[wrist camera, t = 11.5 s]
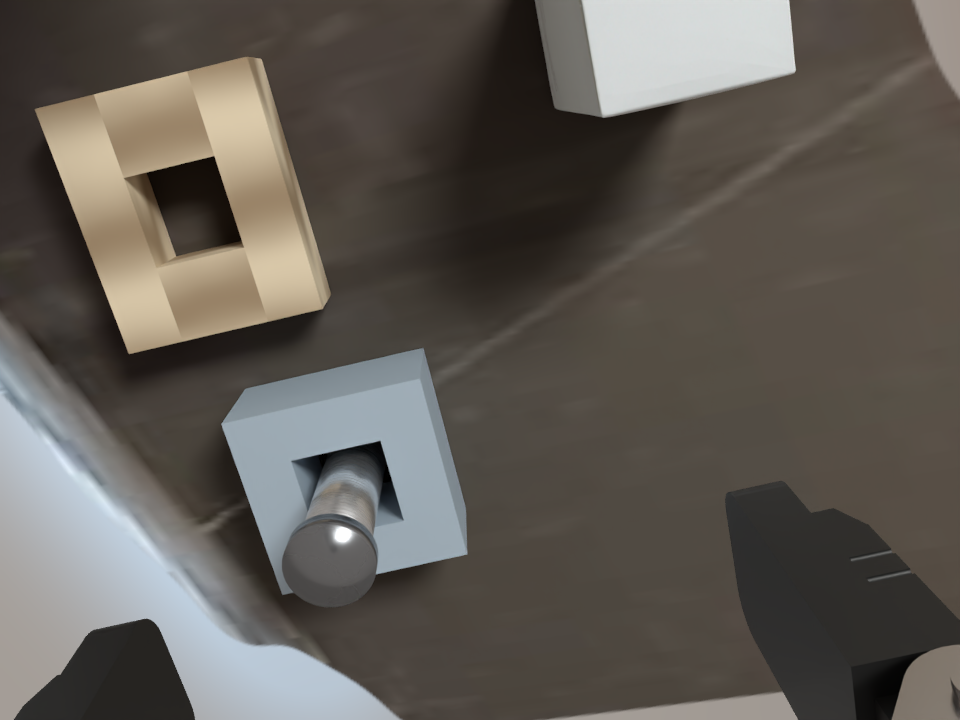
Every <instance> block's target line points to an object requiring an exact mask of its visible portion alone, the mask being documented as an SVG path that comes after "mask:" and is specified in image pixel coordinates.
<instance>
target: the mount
mask: <svg viewBox="0 0 960 720" xmlns="http://www.w3.org/2000/svg"><path fill="white" fill-rule="evenodd" d="M35 111H36V114H37V116H38V119H39V122H40V124H41V127H42V129H43V132H44V135H45V137H46V140H47V142H48V145H49V148H50V150H51V153H52V155H53V158H54V161H55V163H56V166H57V168H58V171H59V174H60V176H61V179H62V181H63V184H64V187H65V189H66V192H67V194H68V197H69V200H70V202H71V205H72V207H73V210H74V213H75V215H76V218H77V220H78V223H79V226H80V228H81V231H82V233H83V236H84V239H85V241H86V244H87V246H88V249H89V252H90V254H91V257H92V259H93V262H94V265H95V267H96V270H97V272H98V275H99V278H100V280H101V283H102V285H103V288H104V291H105V293H106V296H107V298H108V301H109V304H110V306H111V309H112V311H113V314H114V316H115V319H116V322H117V324H118V327H119V329H120V332H121V335H122V337H123V340H124V342H125V345H126V348H127V350H128V353H129V354H132V353H136V352H140V351H144V350H149V349H153V348H157V347H162V346H166V345H170V344H174V343H179V342H183V341H187V340H192V339H196V338H200V337H204V336H209V335H213V334H217V333H222V332H226V331H230V330H234V329H239V328H243V327H247V326H252V325H256V324H260V323H264V322H269V321H273V320H277V319H282V318H286V317H290V316H294V315H299V314H303V313H307V312H312V311H316V310H320V309H323V308H324V306H325V304H326V302H327V301H328V299H329V297H330V296H331V292H330V289H329V285H328V282H327V279H326V275H325V272H324V269H323V265H322V262H321V258H320V255H319V252H318V248H317V245H316V242H315V238H314V235H313V231H312V228H311V225H310V221H309V218H308V214H307V211H306V208H305V204H304V201H303V198H302V194H301V191H300V187H299V184H298V181H297V177H296V174H295V170H294V167H293V164H292V160H291V157H290V154H289V150H288V147H287V143H286V140H285V137H284V133H283V130H282V126H281V123H280V120H279V116H278V113H277V110H276V106H275V103H274V99H273V96H272V93H271V89H270V86H269V83H268V79H267V76H266V72H265V69H264V66H263V62H262V59H258V58H252V57H244V58H240V59H236V60H232V61H228V62H224V63H220V64H216V65H212V66H207V67H203V68H199V69H195V70H191V71H187V72H183V73H179V74H175V75H171V76H167V77H163V78H159V79H155V80H151V81H147V82H143V83H139V84H135V85H131V86H126V87H122V88H118V89H114V90H110V91H106V92H102V93H98V94H94V95H90V96H86V97H82V98H78V99H74V100H70V101H66V102H62V103H58V104H54V105H50V106H45V107H41V108H37V109H35ZM212 156H215V159H216V162H217V165H218V169H219V172H220V175H221V178H222V181H223V184H224V187H225V190H226V193H227V196H228V199H229V202H230V206H231V209H232V212H233V215H234V218H235V221H236V224H237V227H238V230H239V233H240V236H241V240H242V241H239V242H234V243H230V244H226V245H222V246H218V247H213V248H209V249H205V250H201V251H197V252H192V253H188V254H184V255H180V256H176V255H175V252H174V249H173V246H172V243H171V240H170V238H169V235H168V232H167V229H166V226H165V223H164V221H163V218H162V215H161V212H160V209H159V206H158V204H157V201H156V198H155V195H154V192H153V189H152V186H151V184H150V181H149V178H148V175H147V172H150V171H155V170H159V169H163V168H167V167H171V166H175V165H179V164H183V163H188V162H192V161H196V160H200V159H204V158H208V157H212Z"/></svg>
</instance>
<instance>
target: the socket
mask: <svg viewBox="0 0 960 720" xmlns="http://www.w3.org/2000/svg"><path fill="white" fill-rule="evenodd" d="M221 425H222V427H223V430H224V433H225V436H226V439H227V441H228V444H229V447H230V450H231V453H232V455H233V458H234V461H235V464H236V467H237V469H238V472H239V475H240V478H241V481H242V483H243V486H244V489H245V492H246V495H247V497H248V500H249V503H250V506H251V509H252V511H253V514H254V517H255V520H256V523H257V525H258V528H259V531H260V534H261V537H262V539H263V542H264V545H265V548H266V551H267V553H268V556H269V559H270V562H271V565H272V567H273V570H274V573H275V576H276V578H277V581H278V584H279V587H280V590H281V592H282V595H284V594H289V593H293V591H292V590H291V589H290V588H289V586H288V584H287V583H286V581H285V579H284V576H283V572H282V558H283V554H284V551H285V548H286V546H287V543H288V540H289V538H290V536H291V534H292V532H293V531H294V530H295V529H296V527H297V526H298V525H300V524H301V523H302V522H304V521H305V519H306V516H307V513H308V510H309V507H310V504H311V501H312V498H313V496H314V493H315V490H316V487H317V484H318V481H319V478H320V475H321V472H322V466H321V463H320V460H319V457H318V455H319V454H324V453H328V452H333V451H337V450H341V449H346V448H350V447H355V446H359V445H363V444H368V443H372V442H377V441H381V444H382V448H383V451H384V454H385V458H386V461H387V465H388V468H389V472H390V475H391V478H392V481H390V482H385V483H382V488H381V494H380V500H379V505H378V511H377V517H376V522H375V528H374V534H373V537H374V539H375V541H376V544H377V547H378V564H377V570H376V574H380V573H384V572H389V571H393V570H398V569H403V568H407V567H412V566H416V565H421V564H425V563H430V562H434V561H439V560H444V559H448V558H453V557H457V556H462V555H466V554H467V532H466V507H465V504H464V500H463V496H462V492H461V488H460V485H459V481H458V477H457V473H456V470H455V466H454V462H453V458H452V454H451V451H450V447H449V443H448V439H447V436H446V432H445V428H444V424H443V420H442V417H441V413H440V409H439V405H438V402H437V398H436V394H435V390H434V386H433V383H432V379H431V375H430V371H429V368H428V364H427V360H426V356H425V352H424V349H423V348H420V349H416V350H412V351H407V352H403V353H399V354H394V355H390V356H386V357H381V358H377V359H373V360H368V361H364V362H360V363H355V364H351V365H347V366H342V367H338V368H334V369H329V370H325V371H321V372H316V373H312V374H308V375H303V376H299V377H295V378H290V379H286V380H282V381H277V382H273V383H268V384H264V385H260V386H255V387H251V388H247V389H245V390H244V392H243V393H242V395H241V396H240V398H239V399H238V400H237V402H236V403H235V405H234V406H233V408H232V409H231V411H230V412H229V414H228V415H227V416H226V418H225V419H224V421H223V422H222V424H221Z"/></svg>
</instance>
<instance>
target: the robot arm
mask: <svg viewBox="0 0 960 720" xmlns="http://www.w3.org/2000/svg"><path fill="white" fill-rule="evenodd" d="M725 503H726V513H727V519H728V526H729V533H730V539H731V546H732V553H733V559H734V566H735V573H736V579H737V586H738V592H739V597H740V601H741V605H742V609H743V612H744V615H745V618H746V621H747V624H748V626H749V629H750V631H751V634H752V636H753V638H754V640H755V642H756V644H757V645H758V647H759V649H760V651H761V653H762V654H763V656H764V658H765V660H766V662H767V664H768V665H769V667H770V669H771V671H772V673H773V674H774V676H775V678H776V680H777V682H778V684H779V685H780V687H781V689H782V691H783V693H784V695H785V696H786V698H787V700H788V702H789V704H790V705H791V707H792V709H793V711H794V713H795V715H796V716H797V718H798V720H960V620H959V619H958V618H957V617H956V616H955V615H954V614H953V613H952V612H951V611H950V610H949V609H948V608H947V607H946V606H945V605H944V604H943V603H942V601H941V600H940V599H939V598H938V597H937V596H936V595H935V594H934V593H933V592H932V591H931V590H930V589H929V588H928V587H927V586H926V585H925V584H924V583H923V582H922V581H921V579H920V578H919V577H918V576H917V575H916V574H912V573H911V571H910V568H909V567H908V566H907V565H906V564H905V563H904V562H903V561H902V560H901V559H900V557H899V556H898V555H897V554H896V553H894V554H893V553H892V551H891V548H890V547H889V546H888V545H887V544H886V543H885V542H884V541H883V540H882V539H881V538H880V537H879V535H878V534H877V533H876V532H875V531H874V530H873V529H872V528H871V527H870V526H869V525H868V524H865V523H863V522H861V521H859V520H857V519H855V518H853V517H851V516H849V515H847V514H844V513H842V512H840V511H838V510H836V509H834V508H832V509H828V510H823V511H819V512H814V513H810V511H809V510H808V509H807V508H806V507H805V505H804V504H803V503H802V502H801V501H800V500H799V498H798V497H797V496H796V495H795V494H794V492H793V491H792V490H791V489H790V488H789V487H788V485H787V484H786V483H785V482H783V481H778V482H773V483H769V484H764V485H760V486H755V487H751V488H746V489H741V490H737V491H732V492H728V493H727V494H726V499H725ZM14 720H195V717H194V712H193V709H192V706H191V703H190V701H189V698H188V696H187V694H186V691H185V689H184V686H183V684H182V682H181V679H180V677H179V674H178V672H177V670H176V667H175V665H174V663H173V660H172V658H171V655H170V653H169V651H168V648H167V646H166V643H165V641H164V639H163V636H162V634H161V632H160V630H159V628H158V627H157V625H156V624H155V623H154V622H153V621H151V620H149V619H142V620H138V621H133V622H129V623H124V624H119V625H114V626H110V627H105V628H101V629H96V630H93V631H91V632H90V633H89V634H88V635H87V636H86V637H85V639H84V640H83V642H82V644H81V645H80V646H79V648H78V649H77V651H76V652H75V654H74V655H73V657H72V658H71V660H70V661H69V663H68V664H67V666H66V667H65V669H64V670H63V672H62V673H61V675H57V676H56V677H55V678H54V679H52V680H51V681H50V682H49V683H48V684H47V685H46V686H45V687H44V688H43V689H41V690H40V691H39V692H38V693H37V694H36V695H35V696H34V697H33V698H32V699H30V701H28V702H27V703H26V704H25V705H24V706H23V707H22V709H21V710H20V712H19V713H18V714H17V716H16V717H15V719H14Z"/></svg>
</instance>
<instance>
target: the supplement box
mask: <svg viewBox="0 0 960 720" xmlns="http://www.w3.org/2000/svg"><path fill="white" fill-rule="evenodd" d="M535 4H536V10H537V16H538V22H539V27H540V33H541V38H542V44H543V49H544V55H545V60H546V66H547V72H548V77H549V83H550V88H551V93H552V98H553V103H554V107H555V108H556V109H558V110H562V111H569V112H574V113H582V114H587V115H593V116H598V117H602V118H606V117H612V116H617V115H622V114H627V113H632V112H637V111H641V110H646V109H650V108H655V107H660V106H664V105H669V104H673V103H678V102H682V101H686V100H690V99H695V98H699V97H703V96H707V95H711V94H716V93H720V92H724V91H728V90H732V89H736V88H740V87H744V86H748V85H752V84H756V83H760V82H764V81H768V80H772V79H776V78H779V77H783V76H787V75H790V74H793V73H795V71H796V68H795V60H794V49H793V38H792V28H791V17H790V7H789V0H535Z"/></svg>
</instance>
